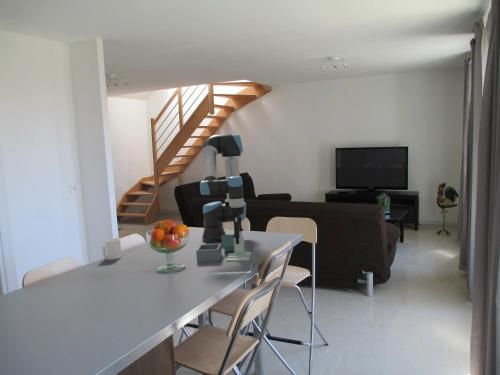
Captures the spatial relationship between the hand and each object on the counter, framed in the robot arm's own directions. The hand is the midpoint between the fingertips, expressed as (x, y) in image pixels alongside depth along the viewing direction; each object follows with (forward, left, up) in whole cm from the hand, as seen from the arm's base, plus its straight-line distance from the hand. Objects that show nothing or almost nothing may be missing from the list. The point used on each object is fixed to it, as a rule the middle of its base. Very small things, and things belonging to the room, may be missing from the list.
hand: (239, 246), depth 213 cm
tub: (+5, -15, -5) cm, 17 cm away
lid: (+5, 0, -4) cm, 6 cm away
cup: (-7, -71, -5) cm, 72 cm away
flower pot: (-9, -6, -5) cm, 12 cm away
